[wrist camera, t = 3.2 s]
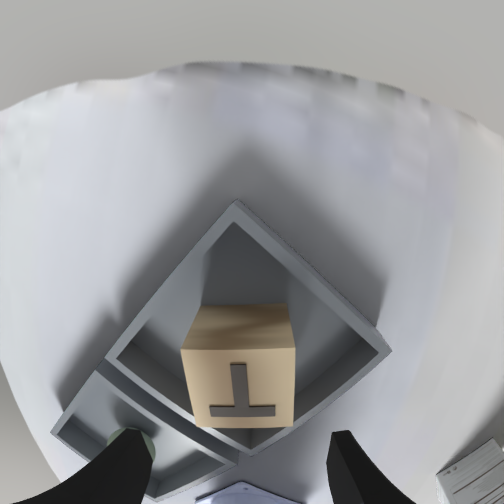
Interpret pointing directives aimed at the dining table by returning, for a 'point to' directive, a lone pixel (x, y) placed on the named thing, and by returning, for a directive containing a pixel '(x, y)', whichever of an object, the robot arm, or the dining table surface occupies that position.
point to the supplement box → (474, 478)
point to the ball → (145, 436)
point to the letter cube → (241, 366)
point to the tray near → (243, 293)
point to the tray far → (151, 423)
